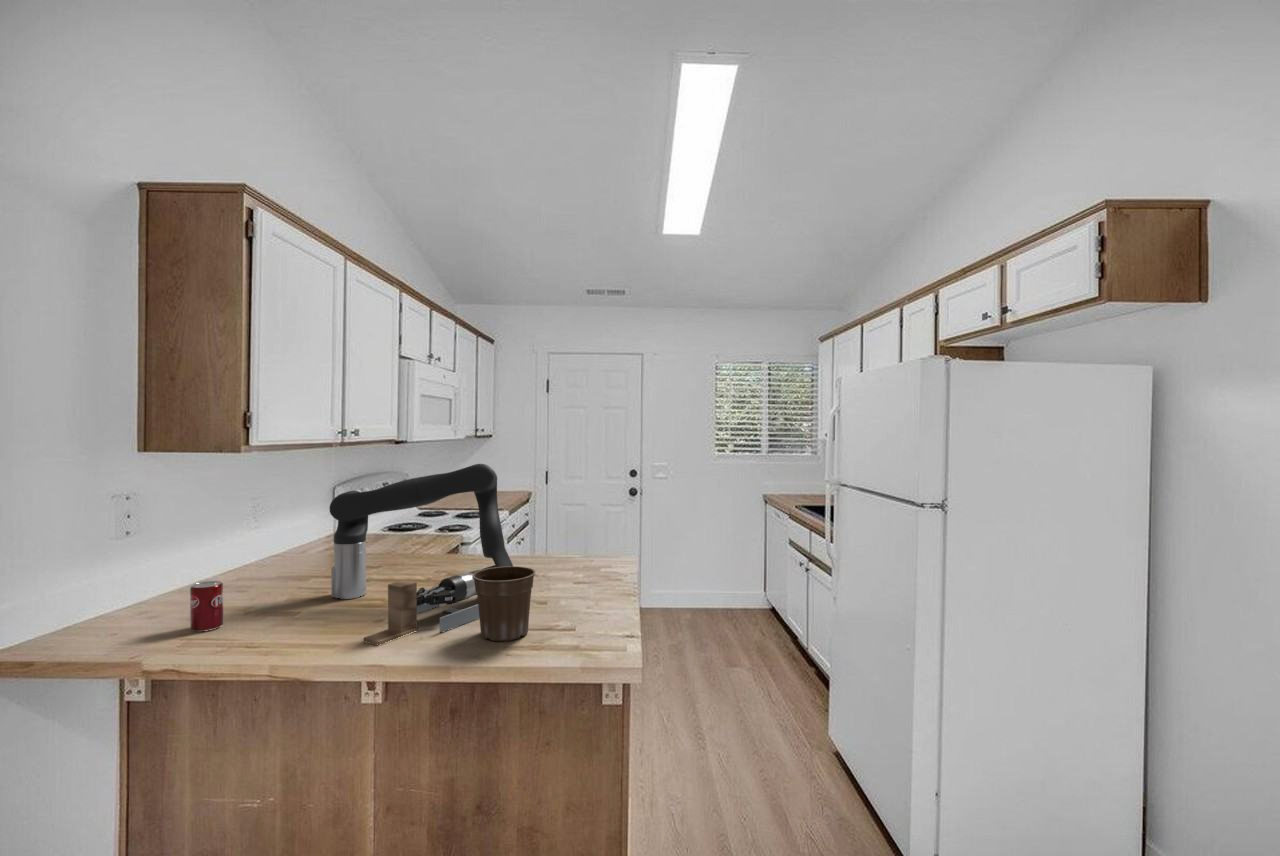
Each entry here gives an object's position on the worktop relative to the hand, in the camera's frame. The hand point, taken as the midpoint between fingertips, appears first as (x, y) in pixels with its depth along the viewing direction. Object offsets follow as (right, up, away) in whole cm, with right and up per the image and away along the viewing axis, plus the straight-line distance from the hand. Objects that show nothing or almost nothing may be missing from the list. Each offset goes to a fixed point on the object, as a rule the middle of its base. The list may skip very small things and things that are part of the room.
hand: (410, 603), depth 165 cm
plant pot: (+26, -7, -3) cm, 27 cm away
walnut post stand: (-3, -7, -5) cm, 9 cm away
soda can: (-55, -7, +1) cm, 55 cm away
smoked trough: (+5, -7, +9) cm, 12 cm away
